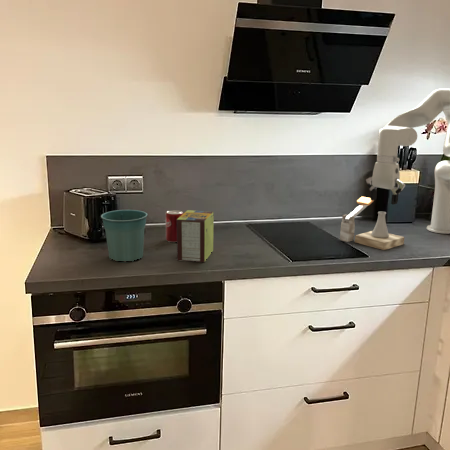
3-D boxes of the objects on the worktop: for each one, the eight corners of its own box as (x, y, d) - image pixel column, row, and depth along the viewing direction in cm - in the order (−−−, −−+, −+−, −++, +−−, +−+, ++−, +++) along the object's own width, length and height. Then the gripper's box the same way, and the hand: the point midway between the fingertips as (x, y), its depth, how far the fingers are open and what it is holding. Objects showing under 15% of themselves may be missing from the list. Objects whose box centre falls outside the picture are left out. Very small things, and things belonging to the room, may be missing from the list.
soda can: (165, 243, 210) (164, 214, 207) (166, 238, 217) (166, 210, 214) (183, 243, 210) (183, 214, 207) (184, 238, 217) (183, 210, 214)
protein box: (213, 250, 201) (214, 211, 197) (204, 262, 186) (205, 220, 183) (187, 248, 203) (187, 209, 199) (176, 260, 188) (176, 218, 184)
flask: (389, 239, 210) (392, 214, 207) (371, 237, 211) (373, 213, 209) (388, 234, 217) (390, 210, 214) (370, 233, 218) (372, 209, 216)
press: (362, 233, 229) (364, 210, 226) (403, 244, 214) (406, 219, 211) (339, 239, 219) (341, 215, 216) (381, 251, 204) (383, 224, 201)
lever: (353, 223, 214) (352, 218, 213) (341, 220, 218) (340, 215, 217) (374, 203, 221) (373, 198, 220) (362, 201, 226) (361, 196, 224)
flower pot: (129, 267, 180) (127, 222, 176) (93, 259, 187) (91, 216, 184) (157, 255, 194) (156, 213, 190) (123, 248, 201) (121, 207, 197)
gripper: (411, 161, 202) (408, 204, 206) (373, 156, 215) (371, 197, 219) (401, 162, 197) (397, 207, 202) (362, 158, 210) (360, 199, 215)
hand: (383, 202), depth 211 cm, fingers open, 9 cm apart
